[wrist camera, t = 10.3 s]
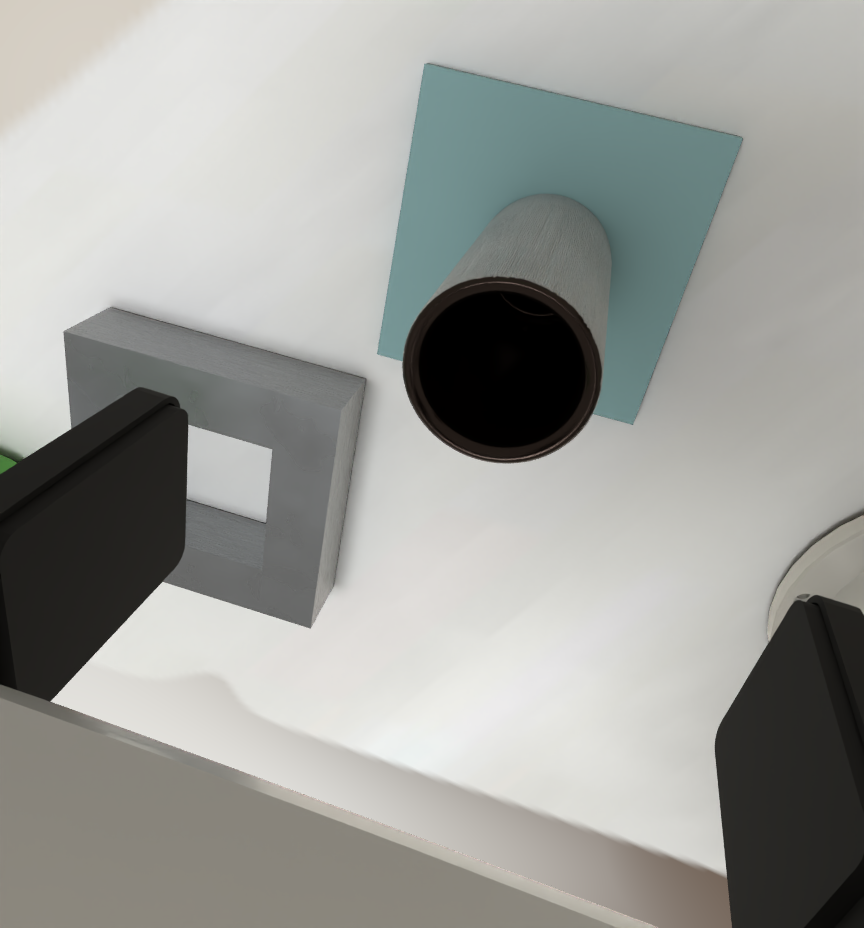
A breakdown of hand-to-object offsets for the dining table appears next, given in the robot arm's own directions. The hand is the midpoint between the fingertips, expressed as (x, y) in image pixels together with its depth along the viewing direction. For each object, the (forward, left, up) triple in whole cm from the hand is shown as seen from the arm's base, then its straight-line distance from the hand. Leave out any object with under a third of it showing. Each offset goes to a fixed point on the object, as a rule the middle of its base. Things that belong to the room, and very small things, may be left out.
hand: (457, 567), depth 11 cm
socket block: (+12, +12, -17) cm, 24 cm away
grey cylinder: (0, 0, -17) cm, 17 cm away
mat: (+1, 0, -17) cm, 17 cm away
